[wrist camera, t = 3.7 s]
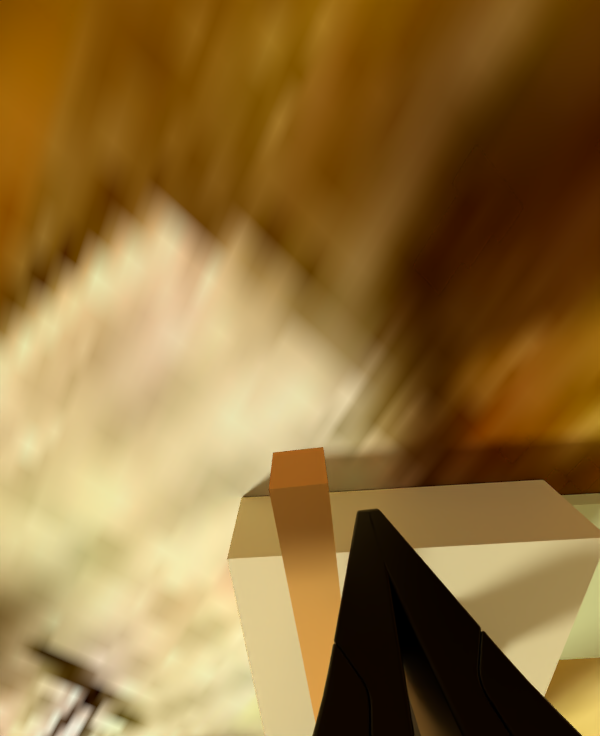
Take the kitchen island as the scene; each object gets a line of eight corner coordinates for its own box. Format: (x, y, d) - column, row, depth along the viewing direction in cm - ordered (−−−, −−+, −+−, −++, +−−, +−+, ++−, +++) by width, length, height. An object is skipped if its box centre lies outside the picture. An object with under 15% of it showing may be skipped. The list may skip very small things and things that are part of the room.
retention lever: (371, 801, 14) (378, 849, 13) (329, 804, 14) (332, 852, 13) (339, 445, 7) (347, 481, 6) (256, 454, 7) (248, 491, 6)
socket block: (494, 659, 18) (555, 782, 14) (271, 671, 18) (263, 796, 14) (543, 479, 13) (659, 582, 9) (241, 497, 14) (215, 607, 9)
